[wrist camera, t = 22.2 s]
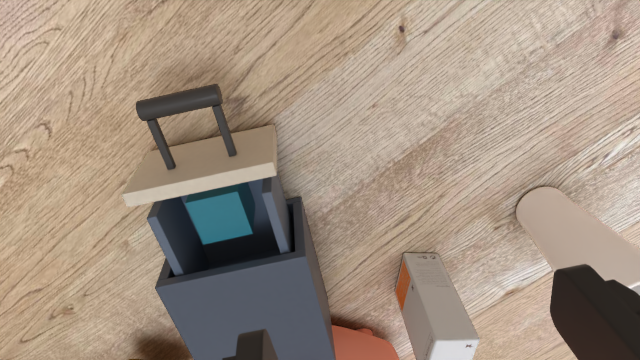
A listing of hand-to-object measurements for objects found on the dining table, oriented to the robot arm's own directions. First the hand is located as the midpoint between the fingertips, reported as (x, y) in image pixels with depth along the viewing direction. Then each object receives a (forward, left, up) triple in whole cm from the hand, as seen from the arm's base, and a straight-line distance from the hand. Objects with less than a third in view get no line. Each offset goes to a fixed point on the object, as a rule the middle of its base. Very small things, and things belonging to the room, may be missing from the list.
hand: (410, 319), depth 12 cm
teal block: (+9, -11, -26) cm, 30 cm away
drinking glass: (+20, +20, -28) cm, 40 cm away
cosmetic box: (+26, +6, -28) cm, 39 cm away
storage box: (+20, -11, -28) cm, 36 cm away
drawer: (+8, -11, -27) cm, 30 cm away
